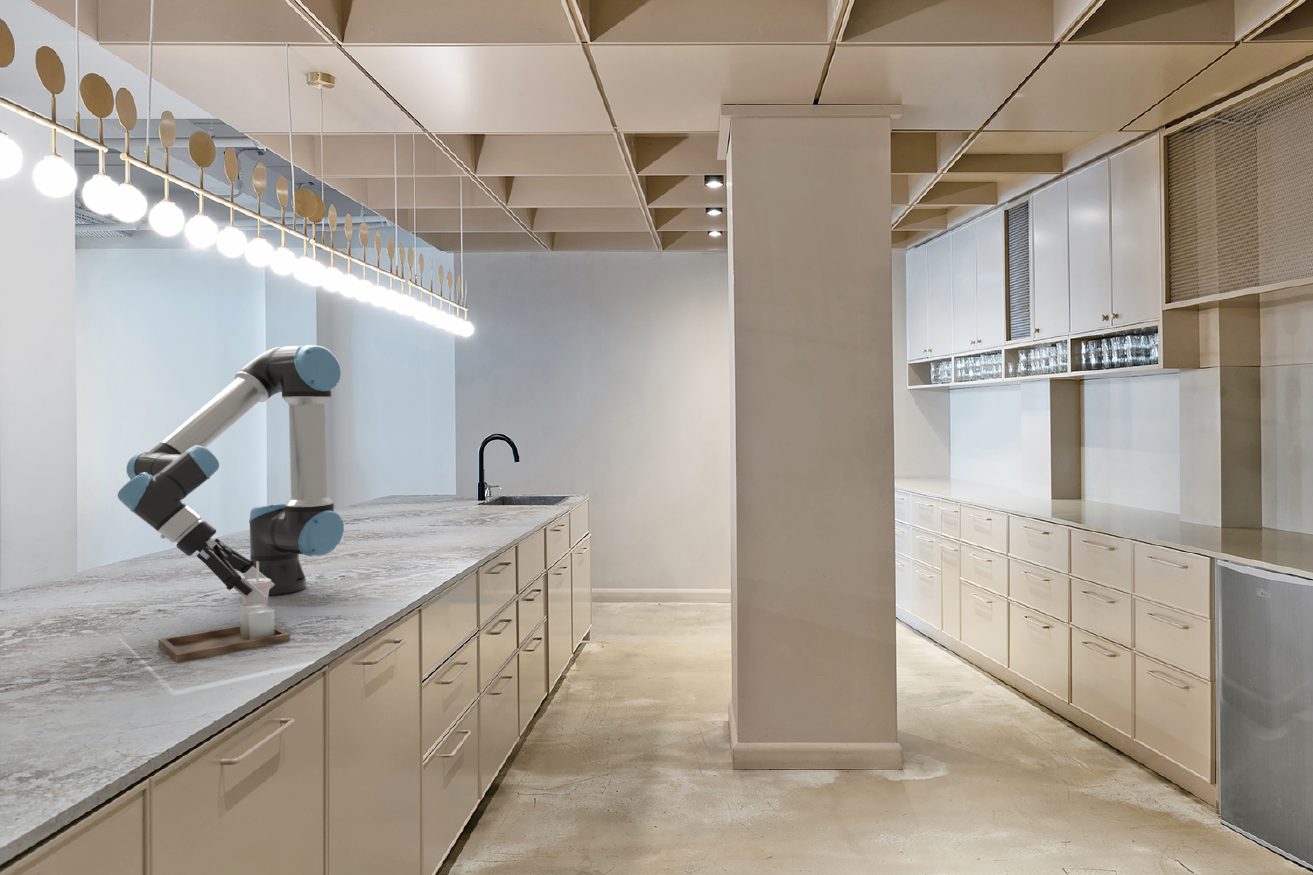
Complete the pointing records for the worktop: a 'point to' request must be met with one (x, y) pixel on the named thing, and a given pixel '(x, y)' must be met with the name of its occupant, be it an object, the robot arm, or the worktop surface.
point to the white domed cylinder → (261, 623)
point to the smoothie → (259, 586)
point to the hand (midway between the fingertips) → (266, 595)
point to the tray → (215, 643)
